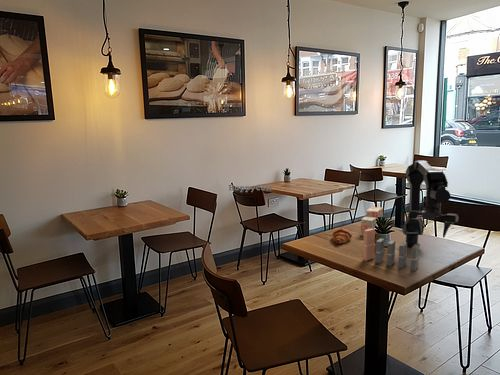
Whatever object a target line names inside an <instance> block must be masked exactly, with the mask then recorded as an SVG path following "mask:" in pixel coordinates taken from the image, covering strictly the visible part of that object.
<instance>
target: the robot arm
mask: <svg viewBox="0 0 500 375" xmlns="http://www.w3.org/2000/svg"><path fill="white" fill-rule="evenodd" d="M405 176H406V181H407V183H408V184H409V208H408V209H409V210H408V215H407V216H406V218H405V222H404V224H403V226H402V228H401V231H402V233H403V235H405V243H407V248H412V247H413V246H414V245H415V244H416V245H419V246H420V245H421V244H420V243H419V236H423V235H424V230H425V224H424V220H431V221H433V220H436V219H437V220H444V222H443V231H442V238H445V237H446V235H447V233H448V231H449V228H450V227H451V225H454V224H455V223H458V222H459V218H460V217H459V215H458V213H450V212H449V213H447V214H442V211H441V210H442V209H441V207H442V204H445V203H448V202H449V201H450V199H451V192H450V191H449V190H447V189H446V188H448V185H449V182H448V179H447V176H446V174H445V173H444V171H443V170H441V169H436V168H433V167H432V166H431V165H430V164H429V163H428V161H427V160H415V161H414V162H413V163H412V164H410V165H408V166H407V168H406V170H405ZM423 183H425V188H426V193H425V194H426V195H425V202H424V207H423V209H422V210H420V205H421V185H422V184H423Z"/></svg>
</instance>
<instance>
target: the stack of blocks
mask: <svg viewBox="0 0 500 375" xmlns="http://www.w3.org/2000/svg"><path fill="white" fill-rule="evenodd" d="M365 212H366V214H365V215H366V216H364V217H362V218H361V220H360V236H363V237H364V230H367V229H371V228H372V229H374V228H375V226H376V219H377V218H378V217H383V218H384V207H381V206H379V207H378V206H371V207H369V208H368V209H367V210H366V211H365Z"/></svg>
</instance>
